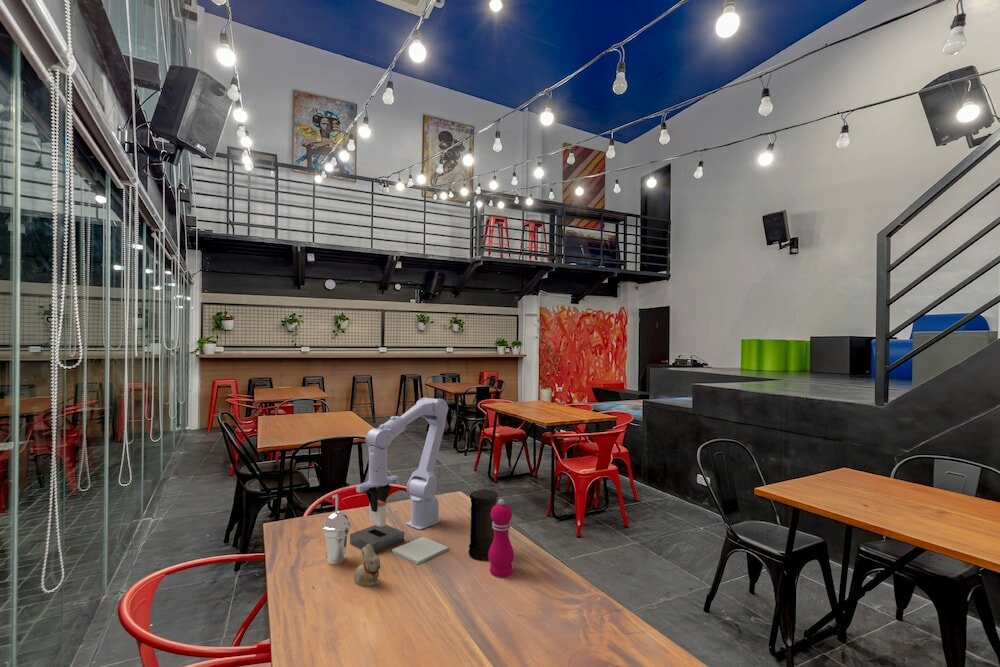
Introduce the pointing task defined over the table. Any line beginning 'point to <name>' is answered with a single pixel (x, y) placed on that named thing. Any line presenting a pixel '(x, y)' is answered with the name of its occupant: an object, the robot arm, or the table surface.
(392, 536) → the grey plate with slot
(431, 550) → the pad
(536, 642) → the table surface
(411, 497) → the robot arm
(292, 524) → the table surface
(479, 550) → the container
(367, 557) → the chocolate bunny
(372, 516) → the pink topped brick
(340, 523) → the cup with straw
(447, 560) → the table surface
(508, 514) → the pepper mill
